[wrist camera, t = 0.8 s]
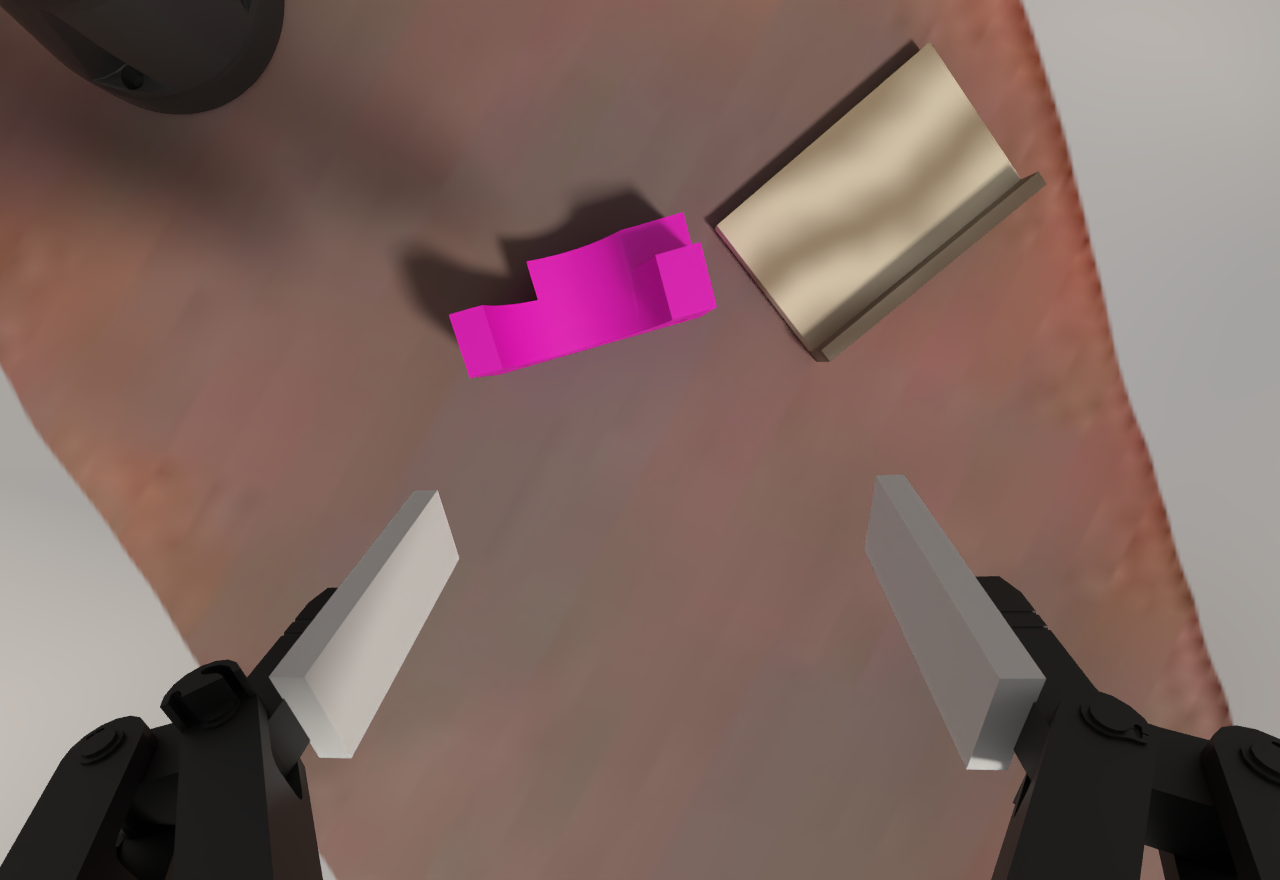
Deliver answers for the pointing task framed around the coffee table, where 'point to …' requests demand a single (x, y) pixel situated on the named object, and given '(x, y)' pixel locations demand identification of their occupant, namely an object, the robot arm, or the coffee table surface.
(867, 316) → the board
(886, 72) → the coffee table surface
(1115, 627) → the coffee table surface
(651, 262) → the toy block
